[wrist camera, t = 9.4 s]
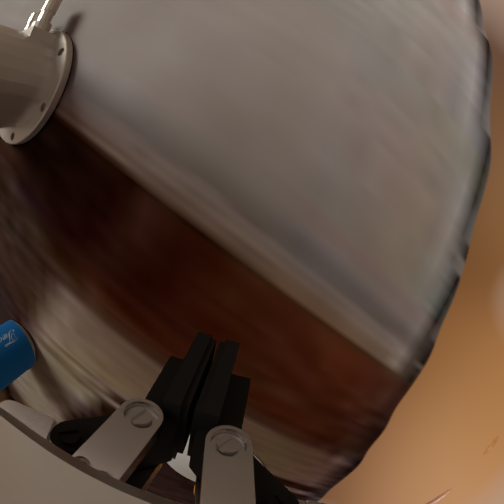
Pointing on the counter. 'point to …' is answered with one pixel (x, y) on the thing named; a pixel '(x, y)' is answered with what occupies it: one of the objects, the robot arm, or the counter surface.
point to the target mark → (186, 464)
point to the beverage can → (14, 352)
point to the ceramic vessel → (4, 395)
